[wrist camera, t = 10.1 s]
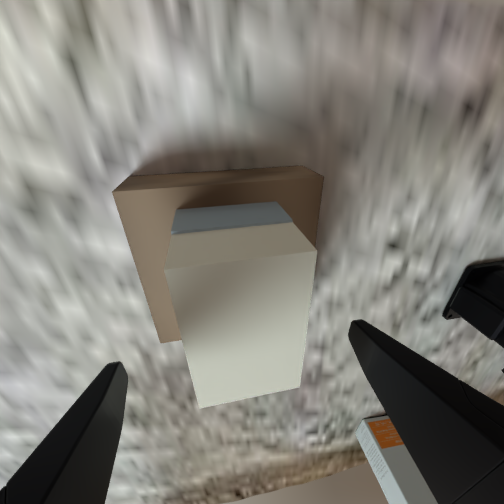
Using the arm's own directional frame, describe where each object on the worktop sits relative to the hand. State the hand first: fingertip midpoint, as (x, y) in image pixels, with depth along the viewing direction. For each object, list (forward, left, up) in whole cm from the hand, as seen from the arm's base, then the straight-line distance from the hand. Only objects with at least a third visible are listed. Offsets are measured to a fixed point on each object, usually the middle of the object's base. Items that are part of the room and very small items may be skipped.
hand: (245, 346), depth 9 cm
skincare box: (-20, +33, -8) cm, 40 cm away
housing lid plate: (0, 0, -3) cm, 3 cm away
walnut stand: (0, 0, -8) cm, 8 cm away
